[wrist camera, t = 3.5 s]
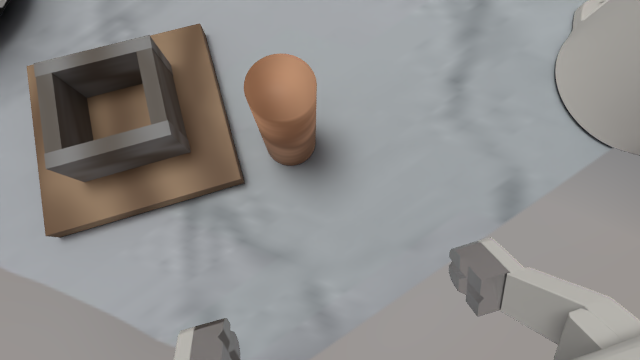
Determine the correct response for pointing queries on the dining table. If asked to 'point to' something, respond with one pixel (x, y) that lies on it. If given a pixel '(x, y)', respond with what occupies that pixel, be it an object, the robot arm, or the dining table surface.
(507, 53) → the dining table surface
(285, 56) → the post
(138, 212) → the stand
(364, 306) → the dining table surface
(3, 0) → the milk container
